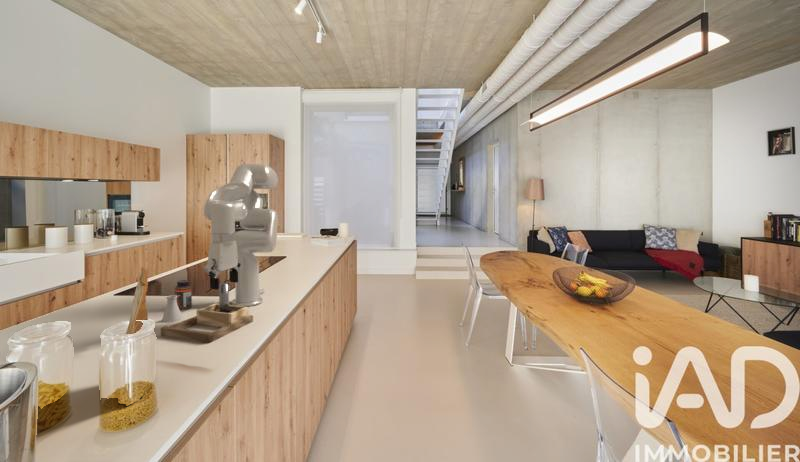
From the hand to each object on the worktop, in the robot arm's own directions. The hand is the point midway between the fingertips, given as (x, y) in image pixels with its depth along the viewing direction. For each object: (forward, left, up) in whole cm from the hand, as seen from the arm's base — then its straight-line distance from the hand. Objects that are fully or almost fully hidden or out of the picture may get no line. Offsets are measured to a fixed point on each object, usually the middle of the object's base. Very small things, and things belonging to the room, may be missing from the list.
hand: (224, 285), depth 130 cm
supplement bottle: (-12, -30, -15) cm, 35 cm away
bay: (+8, 0, -15) cm, 16 cm away
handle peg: (+1, 0, -12) cm, 12 cm away
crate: (+1, 0, -13) cm, 13 cm away
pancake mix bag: (+43, +11, -15) cm, 47 cm away
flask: (+4, -19, -15) cm, 24 cm away
